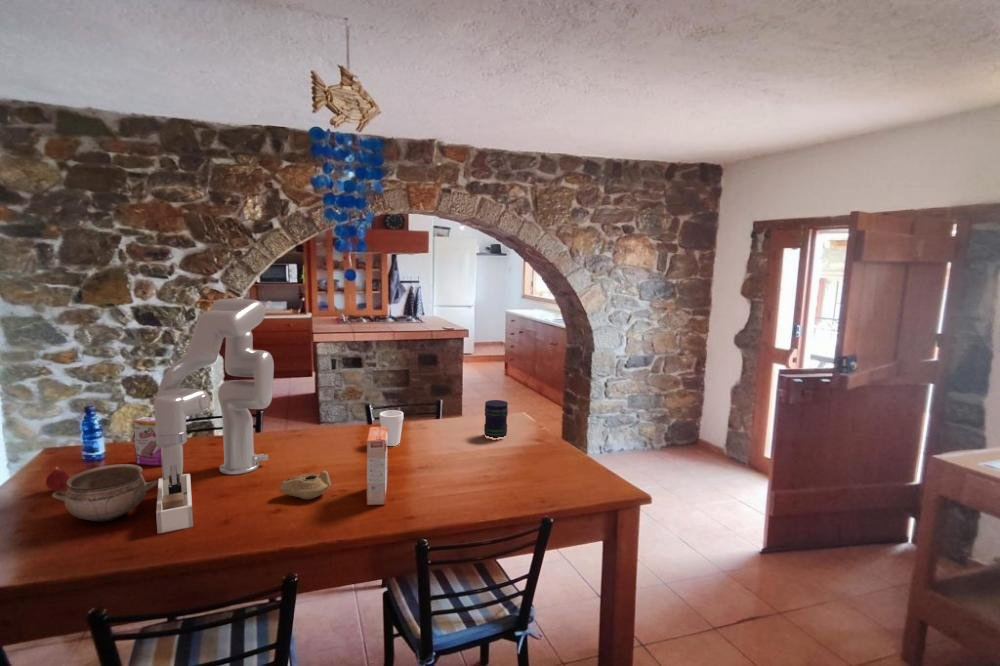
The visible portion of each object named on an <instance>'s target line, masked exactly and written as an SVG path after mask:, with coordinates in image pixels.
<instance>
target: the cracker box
mask: <svg viewBox="0 0 1000 666" xmlns="http://www.w3.org/2000/svg"><path fill="white" fill-rule="evenodd" d="M387 487H388V447H387V427H381V426H370V427H369V431H368V437H367V440H366V505H367V506H379V505H380V506H381V505H385V504H386V498H387V489H388V488H387Z"/></svg>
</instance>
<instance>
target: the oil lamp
mask: <svg viewBox="0 0 1000 666" xmlns="http://www.w3.org/2000/svg"><path fill="white" fill-rule="evenodd" d="M331 485H332V482H331V477H330V476H329V472H328V471H326V470H322V472H321V473H320V474H318V473H314V472H313V473H306V474H301V475H296V476H292V477H290V478H287V479H285V480H283V481H282V483H281V484H280V487H279V490H280V492H282V493H284V494H285V495H287V496H293V497H297V498H299V499H302V500H313V499H316V498H318V497H320V496H321V495H322V494H323V493H324V492H326V491H327V490H328V489H329V488H330V487H331Z"/></svg>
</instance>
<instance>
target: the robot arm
mask: <svg viewBox="0 0 1000 666" xmlns="http://www.w3.org/2000/svg"><path fill="white" fill-rule="evenodd" d="M265 316H266V309H265V306H264V304H263V302H261V301H259V300H257V299H242V298H239V299H238V298H220V299H217V300H215V301H214V302H213V303H212V305H211V310H207V311H204V312H202V313H201V314H200V315H199V317H198V319H197V322H196V325H195V328H194V331H193V334H192V336H191V338H190V339H191V340H190V342H189V346H188V349H187V352H186V353H185V354H184V355H183V356H182V357H180V358H179V359H178V360H177V361H175V363H174V364H172V366H170V367H169V368H168V369H167V371H166V372H165V373H164V375H163V376H162V378H161V381H160V384H159V387H158V390H157V393H156V398H155V399H154V401H153V407H154V408H153V409H154V418H155V425H156V439H157V445H158V446H160V447H161V459H162V466H161V470H162V471H161V472H162V478H163V480H164V481H165V480H167V479H168V478H169V485H168V488H169V495H170V494H176V493H182V490H181V483H180V478H181V477H182V475H183V474H184V473H183V471H184V470H183V469H184V449H183V448H184V446H183V445H184V444H185V443H186V442H187V441H188V437H187V435H188V434H187V418H186V417H189V416H194V415H198V414H201V413H204V411H206V410H207V409H208V407H209V405H210V403H211V397H210V395H209V393H208V391H205V390H203V389H199V388H186V387H180V386H181V383H183V382H182V381H184V380H185V378H187V376H189V375H191V374H192V373H194V372H196V371H198V370H200V369H203V368H205V367H207V366H210V365H213V364H215V363H216V361H217V360H218V357H219V354H220V350H221V346H222V345H223V344H222V343H223V341H224V338H225V352H224V368H225V369H224V370H225V373H226V374H227V375H229V376H232V377H244V378H253V379H254V380H240V379H239V380H238V379H234V380H232V379H231V380H227V381H225V382H223V383H222V384H220V386H219V388H218V391H217V398H218V403H219V407H220V410H221V417H222V436H223V438H222V439H223V441H222V442H223V462H224V463H222V464H220V466H219V472H221V473H222V474H226V475H241V474H247V473H250V472H253V471H255V470H256V469H258V468H259V467H260V461H269V454H264V453H259V454H258V453H257V454H256V453H255V451H254V450H255V447H254V426H253V424H254V422H253V421H254V420H253V416H252V413H251V411H250V410H262V409H267V408H268V407H269V406H270V404H271V403H272V400H273V399H272V398H273V389H274V374H275V373H274V372H275V370H274V369H275V364H274V363H275V362H274V359H273V356H272V354H271V353H270V352H269V351H267V350H262V349H254V348H253V347H254V346H253V343H254V341H253V339H254V338H253V337H254V336H253V332H252V330H254V329H255V328H256V327H257V326H259V325H260V324H261V323H262V322H263V321H264V318H265ZM249 409H250V410H249Z"/></svg>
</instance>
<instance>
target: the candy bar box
mask: <svg viewBox="0 0 1000 666" xmlns="http://www.w3.org/2000/svg"><path fill="white" fill-rule="evenodd" d="M132 425H133V438H134V439H133V440H134V450H135V451H134V454H135V465H144V466H157V467H158V466H159V467H162V459H161V447H160V446H158V445H157V439H156V425H155V417H151V416H141V417H138V418H135V419H134V420H132Z"/></svg>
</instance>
